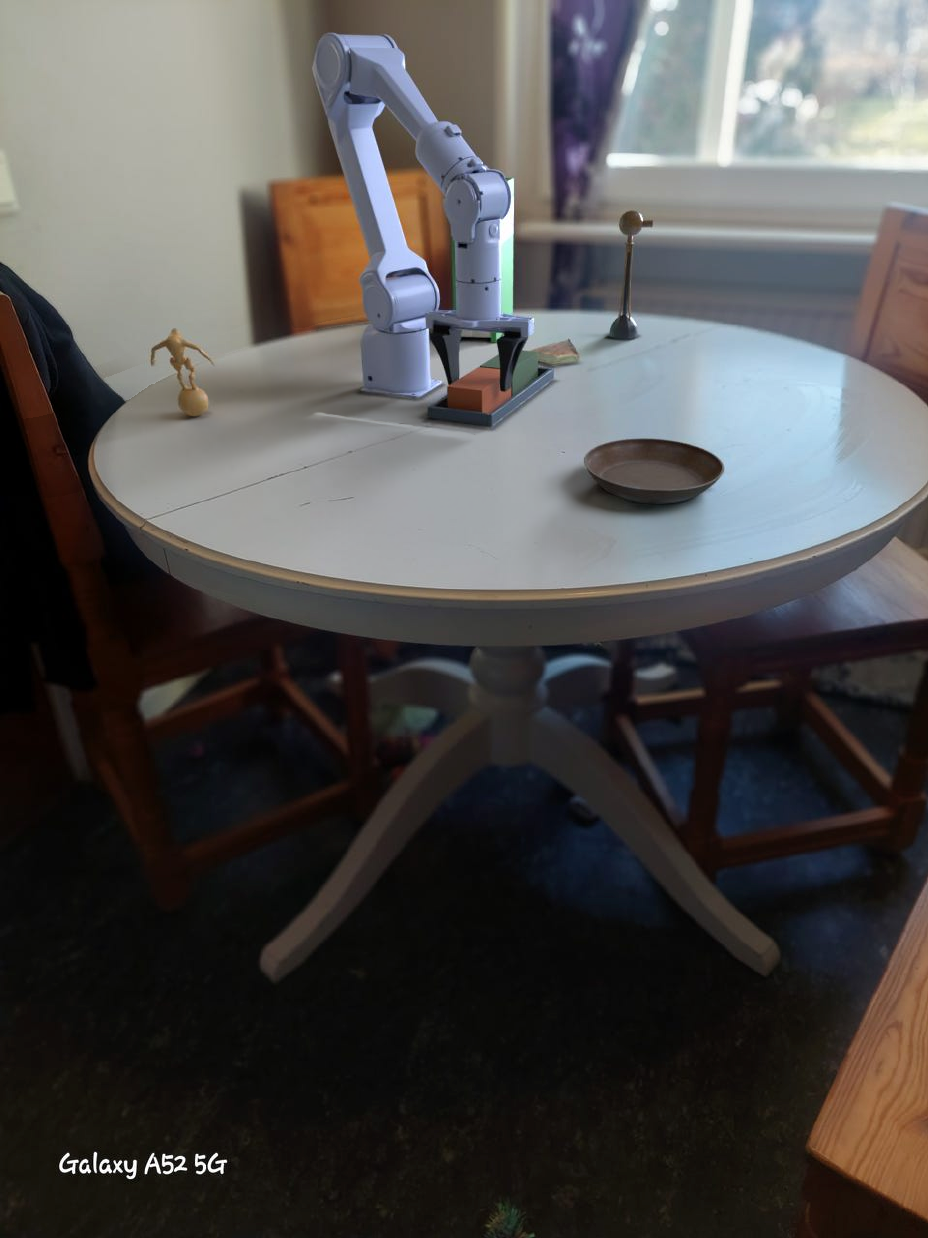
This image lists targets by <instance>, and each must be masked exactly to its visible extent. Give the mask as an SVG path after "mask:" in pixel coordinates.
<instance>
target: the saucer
mask: <svg viewBox="0 0 928 1238" xmlns="http://www.w3.org/2000/svg"><path fill="white" fill-rule="evenodd" d="M583 464H584V466H585V468H586V470H587V472H588V473H589V475H590V476H591V477H592V478H593V480H594V481H595V482H596V483H597V484H598V485H599V486H601V487H602V488H603V489H604V490H606V491H607V492H608V493H610V494H611V495H613V496H616V497H618V498H621V499H623V500H626V501H631V502H636V503H641V504H642V503H643V504H651V505H653V504H654V505H662V504H663V505H665V504H675V503H680V502H685V501H689V500H691V499H693V498H696V497H698V496H699V495H702V493H704V492H706V491H707V490H709V489H710V488H711V487H712V486H714V485H715V484H716V482H718V481H719V480H720V478H721V477H722V476H723V474H724V473H725V470H726V469H725V464H724V462H723V461H722V459H720V458H719V457H718V456H717V455H715V454H714V453H713V452H711V451H709V450H707V449H705V448H702V447H699V446H697V445H694V444H690V443H687V442H682V441H677V440H670V439H664V438H650V437H649V438H648V437H647V438H646V437H644V438H642V437H641V438H640V437H639V438H625V439H617V440H613V441H612V440H611V441H608V442H605V443H602V444H599V445H597V446H595V447H593V448H591V449H590V450H588V451H587V452H586V453H585V455H584V458H583Z"/></svg>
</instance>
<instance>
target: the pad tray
mask: <svg viewBox="0 0 928 1238" xmlns="http://www.w3.org/2000/svg"><path fill="white" fill-rule="evenodd" d="M554 375H555V368H551V367H542V366H538V378H536V379H535V380H534V381H532V382H531V383H530V384H528V385H527V386H526V387H524V388H523V389H521V390H520V391H519V392H517V393H516V394H515V395H513V396H512V397H511V398H509V399H508V400H507V401H505V402H504V403H503V404H501V405H500V406H499V407H497V408H496V409H494V410H493V411H492V412H490V413H483V412H475V411H467V410H459V409H451V408H448V401H447V394H446V395H444V396H442V397H441V398H439V399H437V400H436V401H435V402H433V403H431V404H430V405H428V406H426V407H427V408H426V409H427V419H428V420H437V421H445V422H450V423H459V424H466V425H474V426H482V427H489V428H492V427H494V426H495V425H496V424H497V423H499V422H500V421H502V420H503V419H504V418H505V417H507V416H508V415H509V414H511V413H512V412H513V411H514V410H516V409H517V408H518V407H519V406H521V405H522V404H523V403H525V402H526V401H527V400H529V399H530V398H531V397H532V396H534V395H535V394H536V393H537V392H539V391H541V390H542V389H543V388H544V387H545V386H547V385H548V384H549V383H551V382H552V381H553V380H554V377H555V376H554Z"/></svg>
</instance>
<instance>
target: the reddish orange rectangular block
mask: <svg viewBox="0 0 928 1238" xmlns="http://www.w3.org/2000/svg"><path fill="white" fill-rule="evenodd" d="M446 395H447V401H448V408H451V409H459V410H467V411H475V412H483V413H490V412H492V411H493V410H494V409H496V408H497V407H499V406H500V405H501V404H503V403H504V402H505V401H507V400H508V399H509V398H511V388H510V389H509V390H507V391H506V392H503V391H500V369H493V368H483V367H479V366H478V367H476V368H474V369H472V370H471V371H470V372H468V373H467V374H465V375H463V376H461V377H459V379H458V380H457V381H455V382H453V383H452V384H450V385H447V386H446Z"/></svg>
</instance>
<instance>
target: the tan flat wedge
mask: <svg viewBox="0 0 928 1238" xmlns="http://www.w3.org/2000/svg"><path fill="white" fill-rule="evenodd" d="M529 351H534V352H538V362H541V363H544V364H549V365H557V364H564V363H575V362H579V360H580V354H579V352H578V351H577V349H576V347H575V345H574V344H573V342H572V340H571V339H570V338H568V339H564V340H562V341H559V342H554V343H549V344H546V345H543V346H540V347H536V348H534V349H530V350H529Z"/></svg>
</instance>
